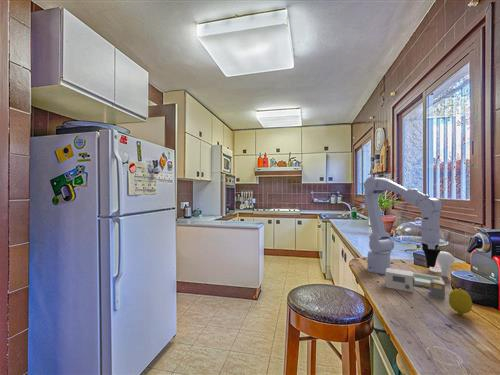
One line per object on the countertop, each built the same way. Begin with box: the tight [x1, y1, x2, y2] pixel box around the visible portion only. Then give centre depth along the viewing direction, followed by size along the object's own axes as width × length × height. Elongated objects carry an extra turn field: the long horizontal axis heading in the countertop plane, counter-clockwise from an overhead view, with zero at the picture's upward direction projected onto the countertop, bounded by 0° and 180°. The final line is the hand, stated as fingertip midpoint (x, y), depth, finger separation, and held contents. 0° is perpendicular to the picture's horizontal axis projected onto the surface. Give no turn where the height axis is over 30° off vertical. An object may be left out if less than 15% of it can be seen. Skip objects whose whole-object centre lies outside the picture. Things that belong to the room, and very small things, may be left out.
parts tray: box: [413, 272, 444, 289], centre depth 102 cm, size 11×11×2 cm
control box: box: [385, 267, 415, 293], centre depth 98 cm, size 10×6×6 cm
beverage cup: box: [429, 250, 443, 273], centre depth 118 cm, size 6×6×14 cm
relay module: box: [429, 279, 446, 300], centre depth 91 cm, size 4×4×5 cm
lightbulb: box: [437, 251, 455, 278], centre depth 109 cm, size 6×6×11 cm
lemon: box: [448, 287, 473, 315], centre depth 77 cm, size 6×6×8 cm
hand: (430, 264), depth 97 cm, fingers open, 7 cm apart
